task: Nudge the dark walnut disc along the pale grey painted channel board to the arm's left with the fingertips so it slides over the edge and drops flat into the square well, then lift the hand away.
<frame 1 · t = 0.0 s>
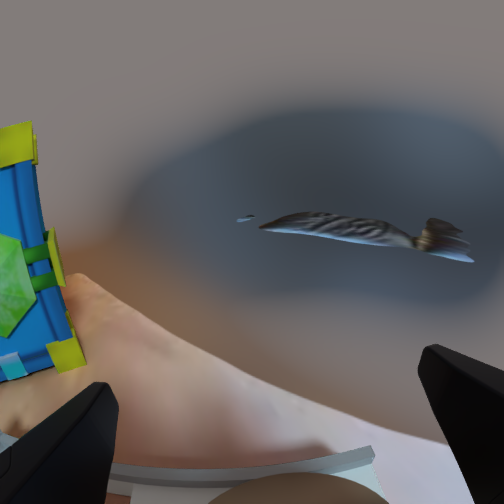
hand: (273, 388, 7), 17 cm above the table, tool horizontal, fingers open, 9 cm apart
decorative book: (22, 366, 30), on the table
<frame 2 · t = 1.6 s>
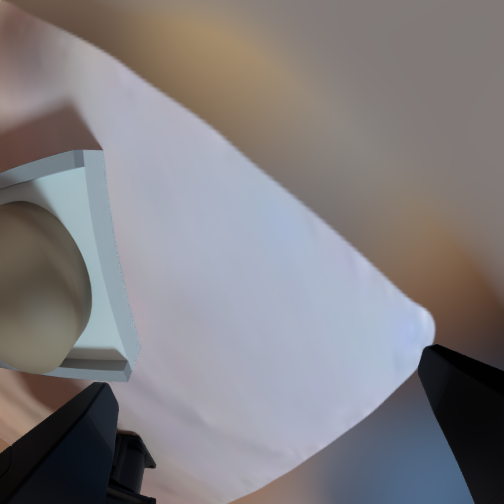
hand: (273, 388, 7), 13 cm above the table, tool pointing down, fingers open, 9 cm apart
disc: (27, 279, 16), point 3 cm above the table, touching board
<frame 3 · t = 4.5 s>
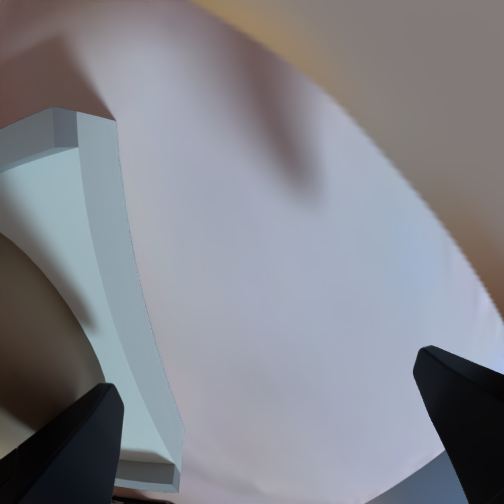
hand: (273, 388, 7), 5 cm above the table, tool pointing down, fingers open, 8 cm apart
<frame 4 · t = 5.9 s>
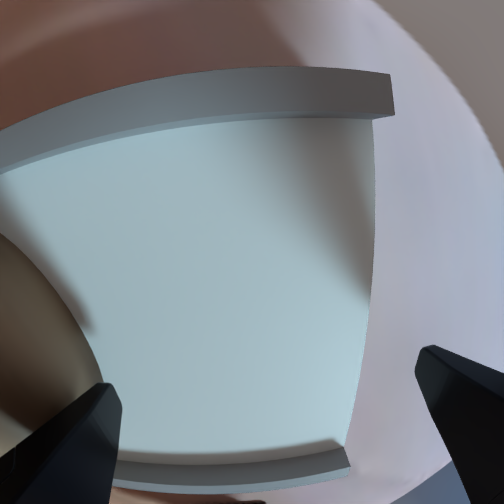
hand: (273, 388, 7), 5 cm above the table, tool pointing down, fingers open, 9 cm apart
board: (13, 317, 11), on the table
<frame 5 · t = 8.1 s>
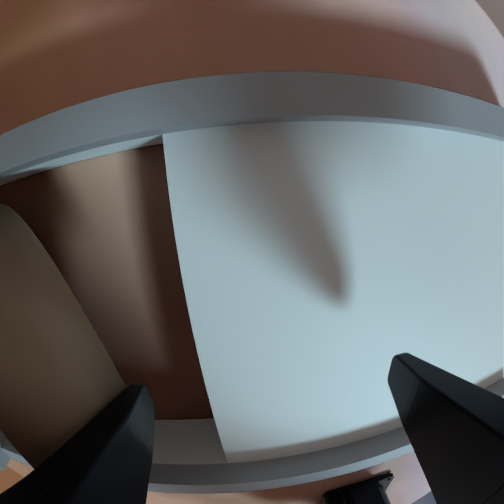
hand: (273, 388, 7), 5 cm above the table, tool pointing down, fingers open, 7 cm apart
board: (229, 309, 12), on the table
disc: (37, 344, 9), point 2 cm above the table, tilted 27°, touching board, gripper
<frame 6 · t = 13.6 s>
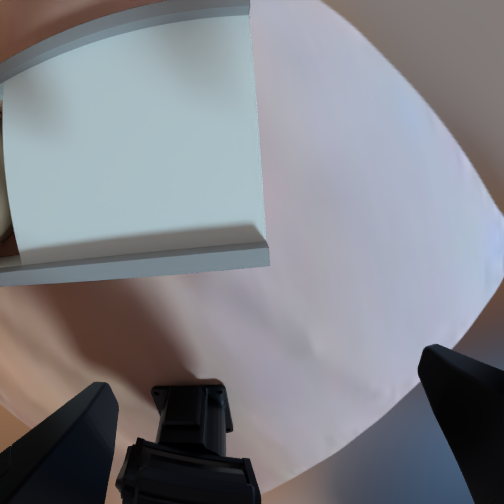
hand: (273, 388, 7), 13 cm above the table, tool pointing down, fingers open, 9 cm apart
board: (38, 164, 16), on the table
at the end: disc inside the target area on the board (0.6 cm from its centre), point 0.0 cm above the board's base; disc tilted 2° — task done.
